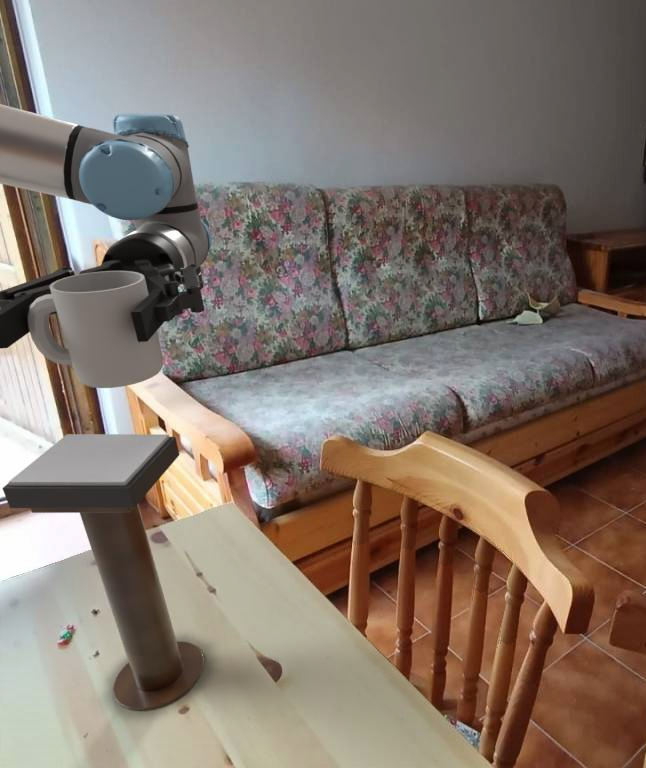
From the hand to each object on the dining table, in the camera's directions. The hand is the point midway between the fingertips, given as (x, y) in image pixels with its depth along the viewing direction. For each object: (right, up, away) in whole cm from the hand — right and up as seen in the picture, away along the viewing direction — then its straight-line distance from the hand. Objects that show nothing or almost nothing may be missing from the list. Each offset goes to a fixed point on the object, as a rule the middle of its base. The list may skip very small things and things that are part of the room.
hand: (69, 330), depth 53 cm
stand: (0, -36, +13) cm, 38 cm away
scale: (+1, -13, +3) cm, 13 cm away
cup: (-1, -4, +6) cm, 8 cm away
